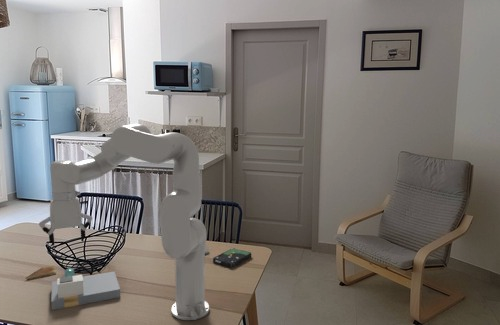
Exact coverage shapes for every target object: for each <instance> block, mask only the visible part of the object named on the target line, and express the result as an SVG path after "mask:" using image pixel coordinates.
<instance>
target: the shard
mask: <svg viewBox="0 0 500 325" xmlns="http://www.w3.org/2000/svg"><path fill="white" fill-rule="evenodd" d="M56 274H57V271H56V268H55V265H50V266H46V267H41V268H39V269H37V270H36V271H34V272H33V273H31V274H29V275H28V276H26V277H25V279H26V280H27V279H30V280H33V278H34V279H37V277H38V278H43V277H47V276H52V275H56Z"/></svg>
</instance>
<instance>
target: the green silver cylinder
mask: <svg viewBox="0 0 500 325" xmlns="http://www.w3.org/2000/svg"><path fill="white" fill-rule="evenodd" d="M63 271H64V277H70V276H75V269H74V268H71V267H70V268H66V269H64V270H63Z"/></svg>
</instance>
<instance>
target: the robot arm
mask: <svg viewBox="0 0 500 325" xmlns="http://www.w3.org/2000/svg"><path fill="white" fill-rule="evenodd" d="M100 151H101V152H100V153H98V154H96V155H94V156H92V157H90V158H88V159H83V160H78V161H75V162H73V161H72V160H66V159H65V160H64V159H63V160H55V161H52V162H51V163H50V165H49V169H50V178H51V179H50V181H51V182H50V183H51V191H52V192H51V194H52V199H50V203H49V217H46V218H45V219H43V220H41V221H40V222H38V225H39V227H40V229H41V230H42V231H43V232H45V233H46V234H47V235H48V239H49V244H51V246H52V247H53V246H55V234H54V231H55V230H59V229H68V228H76V227H78V228H79V229H80V238H81V242H85V240H84V239H86V229H87V228H88V227H90V225H91V223H92V220H93V216H91V215H89V214H86V213H83V212H82V209H81V203H80V199H79V197H78V196H81V190H77V189H76V185H82V184H85V183H88V182H90V181H91V182H92V181H93V180H97V179H99V178H101V177H103V176H104V175H107V174H109V172H111V171H113V170H114V169H115V168H117V167H118V166H119V165H120V164H122V163H123V162H124V161H126V160H127V159H129V158H130V159H131V158H134V159H137V160H141V161H143V162H146V163H150V164H163V163H166V162H169V161H172V160H173V169H172V184H173V188H172V192H170V193H169V194H167V195H166V196H165V197H163V200H162V201H161V203H160V206H159V221H160V222H159V223H160V224H159V225H160V238H161V246H162V248H163V251H164V252H165V254H166V255H167V256H168V257H170V258H171V259H174V260H175V261H174V265H175V266H174V268H175V269H174V272H175V273H174V275H175V303H173V305H171V311H170V312H171V314H172V316H173V317H174V318H176V319H178V320H182V321H196V320H200V319H202V318H203V317H205V316H207V315H208V313H209V312H210V305H209V303H208V301H206V297H205V296H206V295H205V292H206V291H205V264H206V263H205V257H206V254H205V246H206V245H207V244H206V243H207V229H206V226H205V224H204V222H202V221H201V220H200V219H198V218H195V217H193V216H195V215H196V214H197V213H198V212H199V211H200V209H201V207H202V191H201V189H202V188H201V187H202V186H201V174H200V155H199V151H198V148H197V146H196V144H195V143H194V141H193V140H192V139H191V138H190V137H188V136H187V135H185V134H184V133H180V132H174V131H173V132H165V133H162V134H157V135H155V134H152V131H151V130H150V129H149V127H147V126H146V125H144V124H140V123H133V124H132V123H131V124H124V125H121V126H118V127H116V128H115V129H114V131H113V132H112V133H111V136H110V138H108V140H106V141H105V142H103V143H102V145H101V147H100ZM83 218H84V219H86V222H85V223H84V224H83ZM48 223H50V228H48V227H47V226H46V224H48Z"/></svg>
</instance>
